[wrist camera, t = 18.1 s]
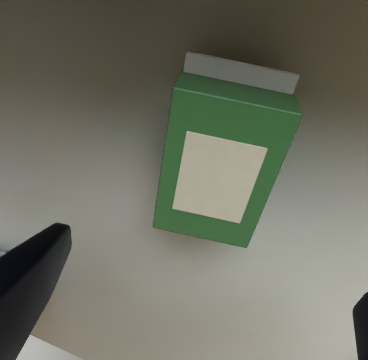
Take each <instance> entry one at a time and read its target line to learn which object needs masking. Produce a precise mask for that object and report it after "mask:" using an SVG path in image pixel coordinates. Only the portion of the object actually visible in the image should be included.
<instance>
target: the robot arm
mask: <svg viewBox="0 0 368 360" xmlns="http://www.w3.org/2000/svg"><path fill="white" fill-rule="evenodd" d="M71 245H72V241H71V228H70V226H69V225H66V224H62V223H54V224H53V225H51V226H49V227H48V228H46V229H44V230H43V231H41V232H39V233H38V234H36V235H35V236H33V237H31V238H30V239H28V240H26V241H25V242H23V243H22V244H20V245H18V246H17V247H15V248H13V249H12V250H10V251H9V252H7V253H5V254H4V255H2V256H0V360H16V358H17V356H18V354H19V353H20V351H21V349H22V347H23V346H24V344H25V342H26V340H27V338H28V337H29V335H30V333H31V331H32V329H33V328H34V326H35V324H36V322H37V321H38V319H39V317H40V315H41V313H42V312H43V310H44V308H45V306H46V305H47V303H48V301H49V299H50V297H51V295H52V292H53V290H54V288H55V286H56V283H57V281H58V278H59V276H60V274H61V271H62V269H63V267H64V264H65V262H66V260H67V257H68V255H69V253H70V250H71ZM353 321H354V329H355V337H356V345H357V354H358V360H368V292H367V293H365V294H364V295H363V297H362V298H361V299H360V300H359V301H358V302H357V304H356V305H355V306H354V308H353Z"/></svg>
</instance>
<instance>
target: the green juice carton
mask: <svg viewBox="0 0 368 360" xmlns="http://www.w3.org/2000/svg"><path fill="white" fill-rule="evenodd" d="M299 77H300V75H299V74H297V73H293V72H288V71H283V70H278V69H273V68H269V67H264V66H259V65H254V64H250V63H245V62H240V61H235V60H230V59H226V58H221V57H216V56H211V55H206V54H202V53H197V52H192V51H187V52H186V56H185V63H184V67H183V69H182V71H181V73H180V75H179V77H178V79H177V81H176V83H175V85H174V87H173V89H172V96H171V103H170V110H169V117H168V124H167V131H166V138H165V144H164V151H163V158H162V165H161V172H160V179H159V186H158V193H157V200H156V207H155V213H154V220H153V227H154V228H157V229H162V230H167V231H171V232H176V233H180V234H185V235H189V236H194V237H198V238H203V239H208V240H212V241H217V242H221V243H226V244H230V245H235V246H239V247H244V248H247V247H248V244H249V242H250V240H251V237H252V235H253V232H254V230H255V228H256V225H257V223H258V220H259V218H260V216H261V213H262V211H263V208H264V206H265V204H266V201H267V199H268V197H269V194H270V192H271V189H272V187H273V185H274V182H275V180H276V177H277V175H278V173H279V170H280V168H281V165H282V163H283V161H284V158H285V156H286V154H287V151H288V149H289V146H290V144H291V142H292V139H293V137H294V134H295V132H296V130H297V127H298V125H299V122H300V120H301V118H302V112H301V110H300V108H299V105H298V103H297V101H296V99H295V96H294V94H293V93H294V90H295V87H296V85H297V82H298V80H299Z"/></svg>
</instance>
